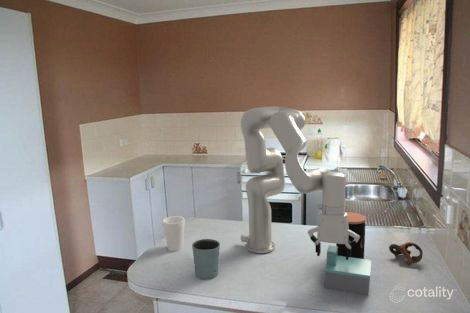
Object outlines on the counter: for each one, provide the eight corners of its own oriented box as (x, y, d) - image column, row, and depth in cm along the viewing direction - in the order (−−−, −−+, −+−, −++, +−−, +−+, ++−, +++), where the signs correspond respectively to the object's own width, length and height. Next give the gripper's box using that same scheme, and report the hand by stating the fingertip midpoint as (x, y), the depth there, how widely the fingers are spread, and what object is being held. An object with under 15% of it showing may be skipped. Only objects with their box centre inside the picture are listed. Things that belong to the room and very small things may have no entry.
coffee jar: (365, 267, 144) (367, 222, 140) (336, 265, 146) (337, 221, 142) (362, 254, 154) (363, 212, 150) (335, 253, 156) (336, 211, 152)
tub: (324, 290, 129) (325, 271, 127) (329, 275, 139) (329, 257, 137) (368, 297, 124) (369, 278, 122) (369, 281, 134) (370, 263, 132)
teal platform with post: (324, 275, 127) (324, 255, 126) (329, 260, 138) (329, 241, 136) (369, 282, 122) (370, 261, 121) (371, 266, 133) (371, 246, 131)
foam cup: (160, 251, 162) (158, 222, 160) (171, 242, 171) (169, 215, 168) (179, 254, 159) (177, 224, 156) (190, 245, 167) (188, 217, 165)
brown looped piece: (416, 256, 153) (424, 244, 147) (416, 275, 146) (425, 263, 140) (386, 246, 155) (393, 233, 150) (384, 264, 148) (391, 252, 143)
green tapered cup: (188, 273, 143) (187, 243, 141) (211, 264, 149) (209, 236, 147) (203, 283, 135) (201, 252, 133) (226, 274, 141) (225, 244, 139)
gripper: (305, 210, 127) (305, 257, 131) (359, 215, 121) (358, 264, 124) (309, 203, 134) (309, 248, 137) (361, 207, 128) (359, 254, 131)
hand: (332, 256), depth 131 cm, fingers open, 9 cm apart
